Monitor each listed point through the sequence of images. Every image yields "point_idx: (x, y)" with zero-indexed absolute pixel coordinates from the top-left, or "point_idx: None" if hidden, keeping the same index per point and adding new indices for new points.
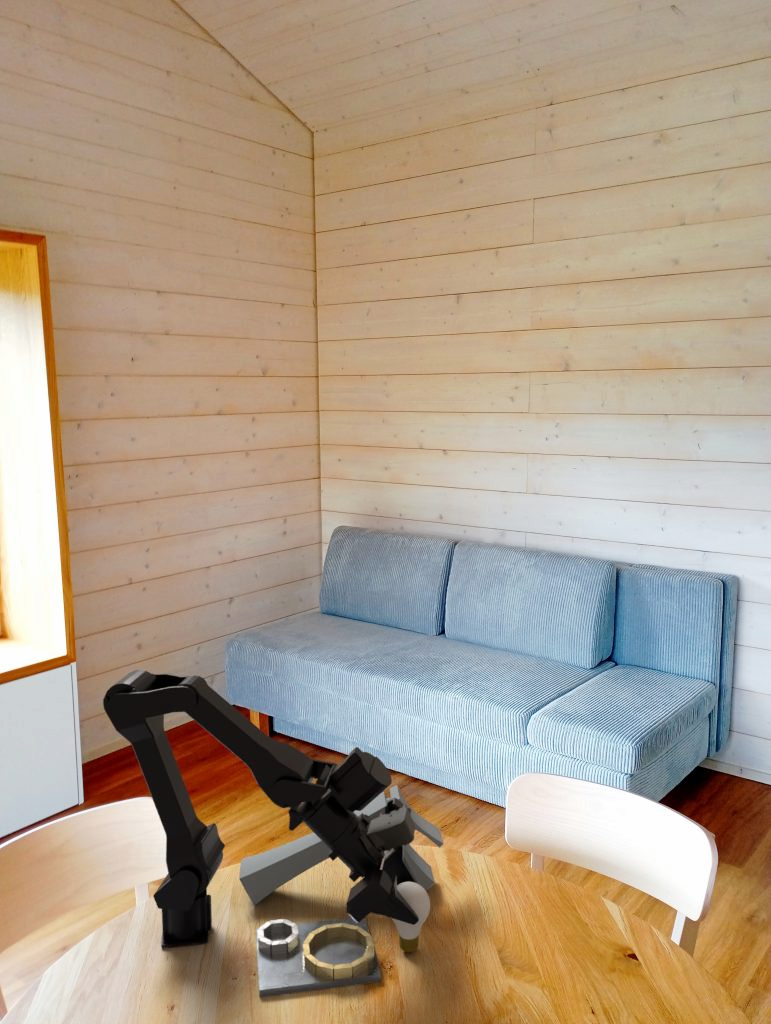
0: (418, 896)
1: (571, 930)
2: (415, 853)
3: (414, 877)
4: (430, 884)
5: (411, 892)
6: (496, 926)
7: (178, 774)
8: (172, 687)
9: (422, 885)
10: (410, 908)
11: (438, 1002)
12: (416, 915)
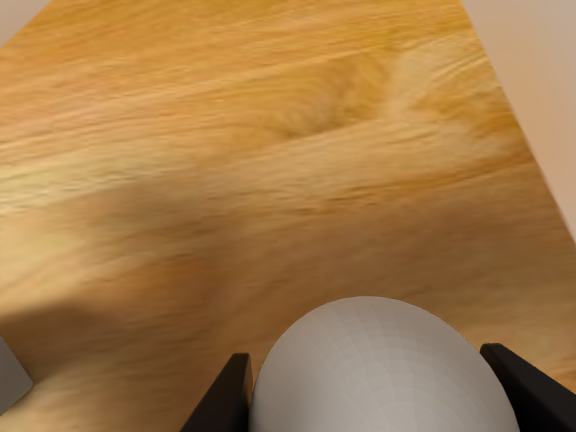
0: (460, 361)
1: (193, 4)
2: None
3: (197, 429)
4: (1, 349)
5: (476, 427)
6: (190, 146)
7: None
8: None
9: (3, 382)
10: (563, 406)
11: (535, 264)
12: (507, 358)
